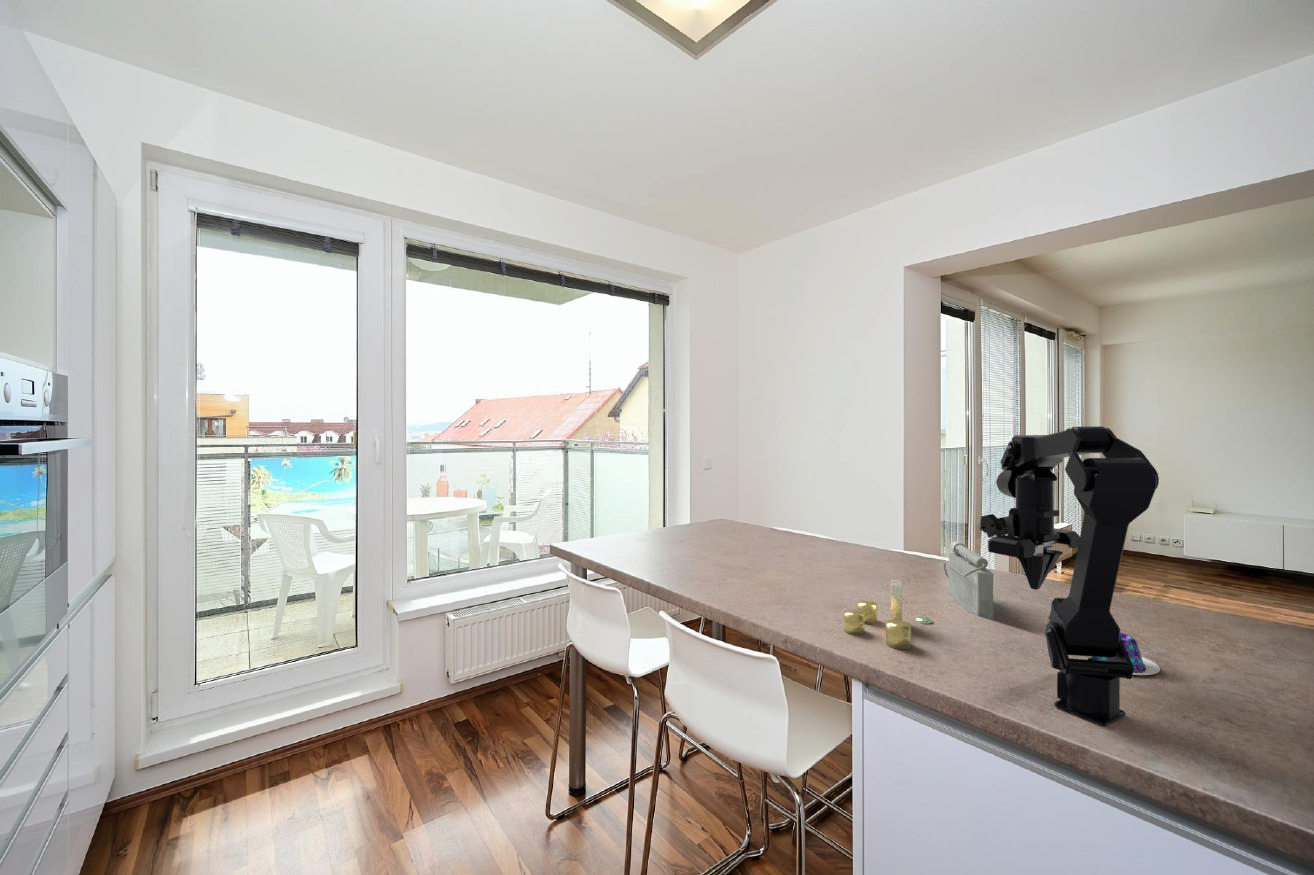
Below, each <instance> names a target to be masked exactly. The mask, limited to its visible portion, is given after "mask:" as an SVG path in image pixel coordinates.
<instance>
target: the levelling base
mask: <svg viewBox="0 0 1314 875" xmlns="http://www.w3.org/2000/svg"><path fill="white" fill-rule="evenodd" d="M856 605H857V606H856V609H847V610H845V609H844V610H843V632H844V633H845V634H848V635H852V636H861V635H865V632H866V628H865V626H866V625H876V624H878V603H877V602H874V601H872V600H858V601H857V603H856ZM915 622H917V623H919V624H922V625H931V624H932V619H931V618H930V617H927V616H916V617H915Z"/></svg>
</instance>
